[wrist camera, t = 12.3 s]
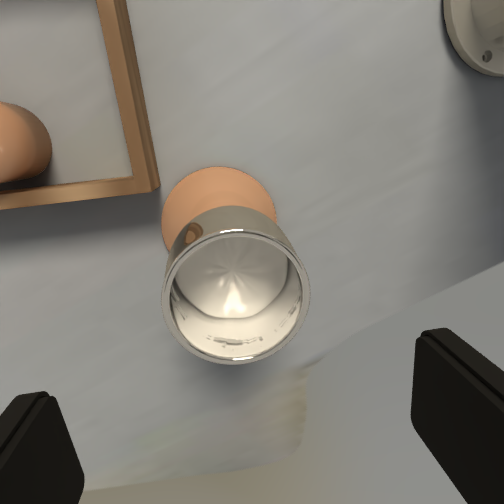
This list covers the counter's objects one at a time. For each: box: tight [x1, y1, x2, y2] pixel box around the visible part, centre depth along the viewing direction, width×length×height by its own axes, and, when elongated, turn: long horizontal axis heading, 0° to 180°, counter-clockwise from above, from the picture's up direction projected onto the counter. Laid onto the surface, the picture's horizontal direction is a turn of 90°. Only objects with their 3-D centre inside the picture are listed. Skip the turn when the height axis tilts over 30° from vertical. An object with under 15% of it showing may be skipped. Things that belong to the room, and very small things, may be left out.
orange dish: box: [161, 167, 277, 252], centre depth 29 cm, size 10×10×1 cm
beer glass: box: [161, 190, 310, 365], centre depth 21 cm, size 7×7×15 cm
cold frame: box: [0, 0, 161, 210], centre depth 22 cm, size 17×18×4 cm
